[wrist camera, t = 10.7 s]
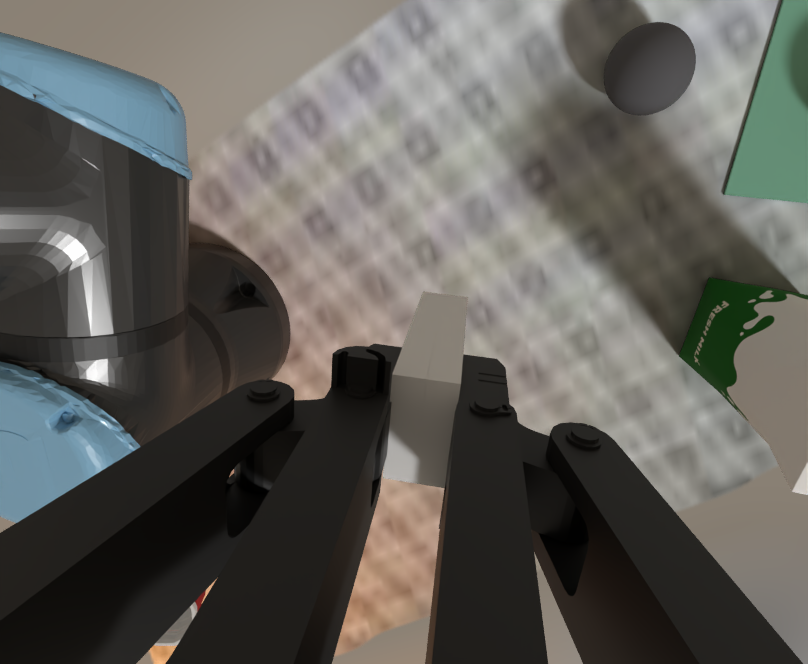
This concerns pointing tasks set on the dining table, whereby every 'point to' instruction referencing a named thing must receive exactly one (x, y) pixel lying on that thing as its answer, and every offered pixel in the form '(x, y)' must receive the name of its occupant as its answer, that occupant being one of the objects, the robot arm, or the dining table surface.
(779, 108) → the green mark
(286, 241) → the dining table surface
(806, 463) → the milk carton
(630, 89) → the cue ball black
